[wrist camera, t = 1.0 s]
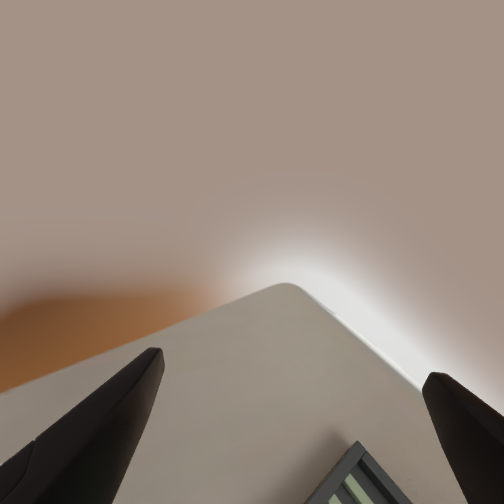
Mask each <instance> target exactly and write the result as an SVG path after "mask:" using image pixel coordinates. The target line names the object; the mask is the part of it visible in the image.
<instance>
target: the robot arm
mask: <svg viewBox="0 0 504 504" xmlns="http://www.w3.org/2000/svg"><path fill="white" fill-rule="evenodd" d="M164 368H165V363H164V357H163V351H162V349H161V348H156V347H150V348H148V349H146V350H145V351H144V352H143V353H141V354H140V355H139V356H138V357H136V358H135V359H134V360H133V361H131V362H130V363H129V364H128V365H126V366H125V367H124V368H123V369H121V370H120V371H119V372H118V373H116V374H115V375H114V376H113V377H111V378H110V379H109V380H108V381H106V382H105V383H104V384H103V385H101V386H100V387H99V388H98V389H96V390H95V391H94V392H93V393H91V394H90V395H89V396H88V397H86V398H85V399H84V400H83V401H81V402H80V403H79V404H78V405H76V406H75V407H74V408H73V409H71V410H70V411H69V412H68V413H66V414H65V415H64V416H63V417H61V418H60V419H59V420H58V421H56V422H55V423H54V424H53V425H51V426H50V427H49V428H48V429H46V430H45V431H44V432H43V433H41V434H40V435H39V436H38V437H36V439H35V441H34V440H33V441H31V442H30V443H29V444H27V445H26V446H25V447H24V448H22V449H21V450H20V451H19V452H17V453H16V454H15V455H14V456H12V457H11V458H10V459H9V460H7V461H6V462H5V463H3V464H2V465H1V466H0V504H112V503H113V501H114V498H115V496H116V494H117V491H118V489H119V487H120V484H121V482H122V480H123V477H124V475H125V473H126V470H127V468H128V466H129V463H130V461H131V459H132V456H133V454H134V452H135V449H136V447H137V445H138V442H139V440H140V438H141V435H142V433H143V431H144V429H145V426H146V424H147V421H148V419H149V416H150V413H151V410H152V407H153V404H154V401H155V397H156V394H157V391H158V388H159V385H160V382H161V379H162V376H163V372H164ZM422 394H423V398H424V400H425V403H426V406H427V409H428V411H429V414H430V417H431V419H432V422H433V425H434V428H435V430H436V433H437V436H438V438H439V441H440V443H441V446H442V448H443V451H444V453H445V455H446V457H447V460H448V462H449V464H450V466H451V468H452V470H453V472H454V475H455V477H456V479H457V481H458V483H459V485H460V487H461V490H462V492H463V494H464V496H465V498H466V500H467V502H468V504H504V416H502V415H501V414H500V413H498V412H497V411H496V410H494V409H493V408H491V407H490V406H489V405H488V404H486V403H485V402H484V401H482V400H481V399H480V398H478V397H477V396H476V395H474V394H473V393H472V392H470V391H469V390H468V389H466V388H465V387H463V386H462V385H461V384H460V383H458V382H457V381H456V380H454V379H453V378H452V377H450V376H449V375H448V374H445V373H440V372H431V373H430V374H429V376H428V378H427V380H426V382H425V384H424V386H423V388H422Z"/></svg>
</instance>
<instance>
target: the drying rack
mask: <svg viewBox="0 0 504 504" xmlns="http://www.w3.org/2000/svg"><path fill="white" fill-rule="evenodd" d="M304 504H412V503H411V501H410V500H409V499H408V498H407V497H406V496H405V494H404V493H403V492H402V491H401V490H400V489H399V487H398V486H397V485H396V484H395V483H394V482H393V480H392V479H391V478H390V477H389V476H388V475H387V474H386V472H385V471H384V470H383V469H382V468H381V467H380V465H379V464H378V463H377V462H376V461H375V460H374V458H373V457H372V456H371V455H370V454H369V453H368V452H367V451H366V449H365V448H364V447H363V446H362V445H361V443H360V442H359V441H356V442H355V443H354V444H353V445H352V446H351V447H350V448H349V449H348V451H347V452H346V453H345V454H344V455H343V457H342V458H341V459H340V460H339V462H338V463H337V464H336V465H335V466H334V468H333V469H332V470H331V471H330V472H329V474H328V475H327V476H326V477H325V479H324V480H323V481H322V482H321V483H320V485H319V486H318V487H317V488H316V490H315V491H314V492H313V493H312V494H311V496H310V497H309V498H308V499H307V501H306V502H305V503H304Z"/></svg>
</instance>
